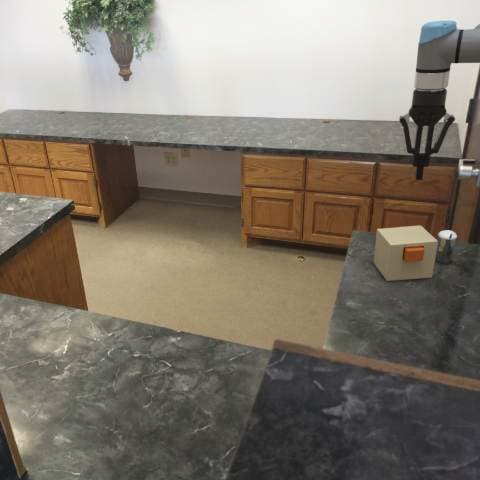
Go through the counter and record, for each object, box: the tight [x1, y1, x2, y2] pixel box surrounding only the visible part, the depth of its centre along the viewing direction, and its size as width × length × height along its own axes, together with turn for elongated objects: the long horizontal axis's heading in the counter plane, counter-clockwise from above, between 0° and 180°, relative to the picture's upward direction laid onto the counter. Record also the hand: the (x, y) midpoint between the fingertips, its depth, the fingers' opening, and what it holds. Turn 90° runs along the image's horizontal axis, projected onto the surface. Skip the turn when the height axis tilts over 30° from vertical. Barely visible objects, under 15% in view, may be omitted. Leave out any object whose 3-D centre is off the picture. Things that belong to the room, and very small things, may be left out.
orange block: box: [403, 246, 424, 262], centre depth 134 cm, size 4×2×3 cm, turn 89°
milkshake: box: [436, 229, 458, 264], centre depth 142 cm, size 4×5×10 cm
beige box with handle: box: [373, 225, 438, 282], centre depth 140 cm, size 12×10×11 cm
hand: (418, 177), depth 137 cm, fingers closed
